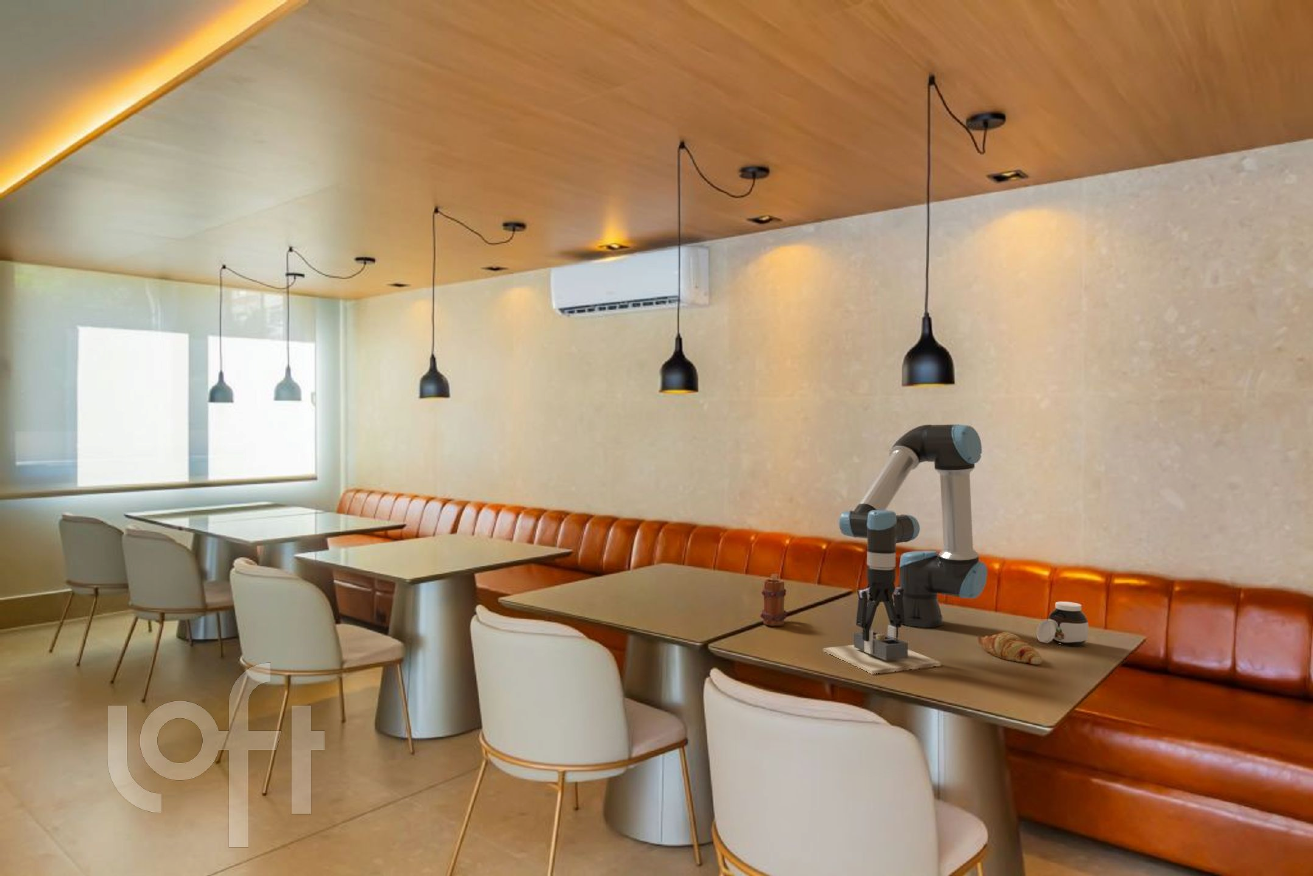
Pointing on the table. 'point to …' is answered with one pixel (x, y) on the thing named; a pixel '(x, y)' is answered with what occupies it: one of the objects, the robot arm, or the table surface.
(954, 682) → the table surface
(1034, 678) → the table surface
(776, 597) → the brown banded canister
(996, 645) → the croissant
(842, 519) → the robot arm
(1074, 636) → the spread jar
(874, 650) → the grey compartment tray
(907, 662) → the mount board
